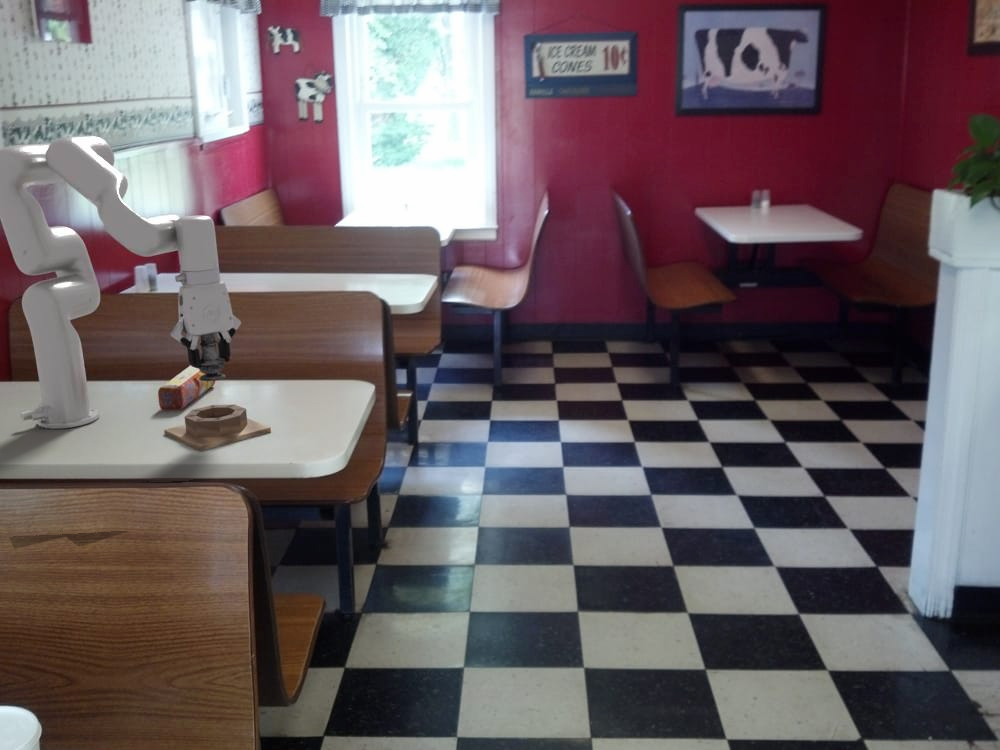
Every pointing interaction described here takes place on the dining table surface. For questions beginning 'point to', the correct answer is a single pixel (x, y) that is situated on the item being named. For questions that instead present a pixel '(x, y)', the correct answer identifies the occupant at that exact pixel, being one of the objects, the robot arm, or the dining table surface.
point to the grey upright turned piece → (210, 359)
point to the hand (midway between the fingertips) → (210, 363)
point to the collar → (216, 427)
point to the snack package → (182, 389)
